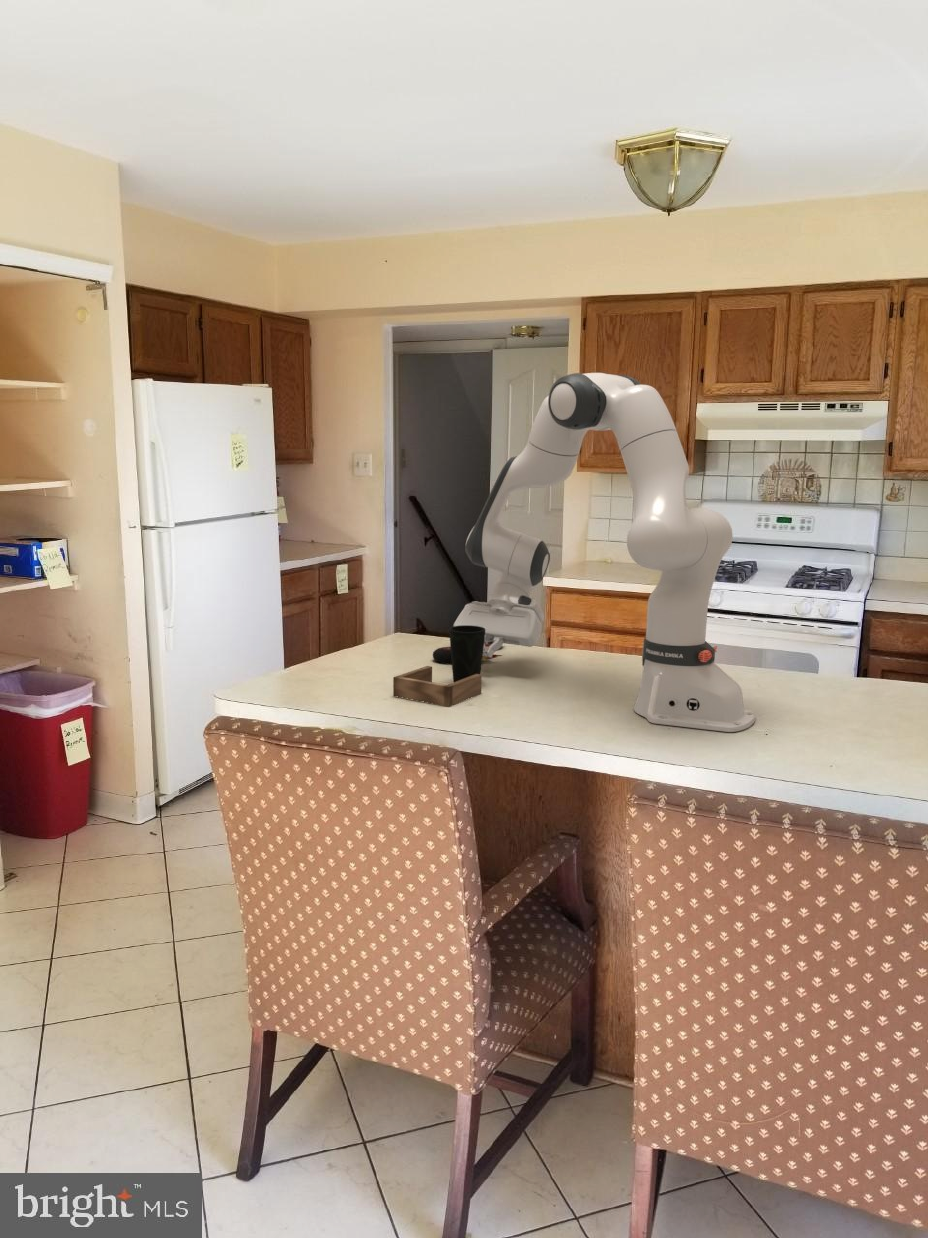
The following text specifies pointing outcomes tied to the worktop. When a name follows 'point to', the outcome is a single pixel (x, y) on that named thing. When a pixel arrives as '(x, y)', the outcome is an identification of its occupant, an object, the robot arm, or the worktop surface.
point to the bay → (435, 687)
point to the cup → (466, 650)
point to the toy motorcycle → (445, 654)
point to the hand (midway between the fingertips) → (484, 655)
